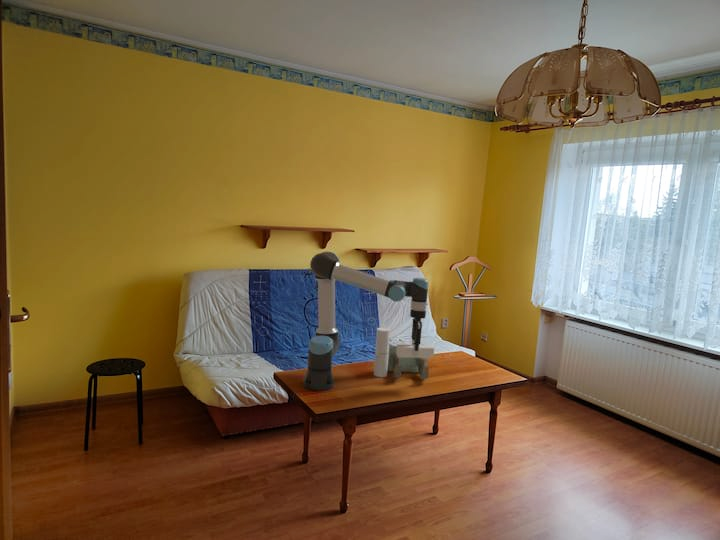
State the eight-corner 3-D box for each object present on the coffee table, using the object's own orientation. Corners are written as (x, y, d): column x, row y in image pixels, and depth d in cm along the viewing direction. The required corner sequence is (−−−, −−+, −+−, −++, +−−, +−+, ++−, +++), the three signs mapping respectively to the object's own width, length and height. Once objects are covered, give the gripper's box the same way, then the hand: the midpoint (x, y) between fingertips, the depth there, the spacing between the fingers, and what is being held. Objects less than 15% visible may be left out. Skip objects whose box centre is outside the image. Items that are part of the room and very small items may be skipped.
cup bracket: (389, 382, 239) (391, 355, 237) (386, 370, 257) (388, 345, 255) (432, 384, 239) (434, 357, 238) (425, 371, 258) (427, 347, 256)
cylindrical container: (386, 377, 245) (389, 331, 242) (372, 376, 246) (375, 330, 243) (387, 373, 252) (391, 328, 249) (374, 371, 253) (378, 327, 250)
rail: (397, 357, 229) (398, 347, 229) (396, 354, 234) (396, 344, 234) (433, 358, 231) (434, 348, 231) (430, 355, 236) (431, 345, 235)
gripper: (429, 313, 221) (425, 361, 224) (422, 306, 239) (419, 350, 242) (413, 312, 221) (409, 360, 223) (408, 305, 239) (404, 349, 241)
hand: (414, 354), depth 233 cm, fingers closed on rail, 5 cm apart
